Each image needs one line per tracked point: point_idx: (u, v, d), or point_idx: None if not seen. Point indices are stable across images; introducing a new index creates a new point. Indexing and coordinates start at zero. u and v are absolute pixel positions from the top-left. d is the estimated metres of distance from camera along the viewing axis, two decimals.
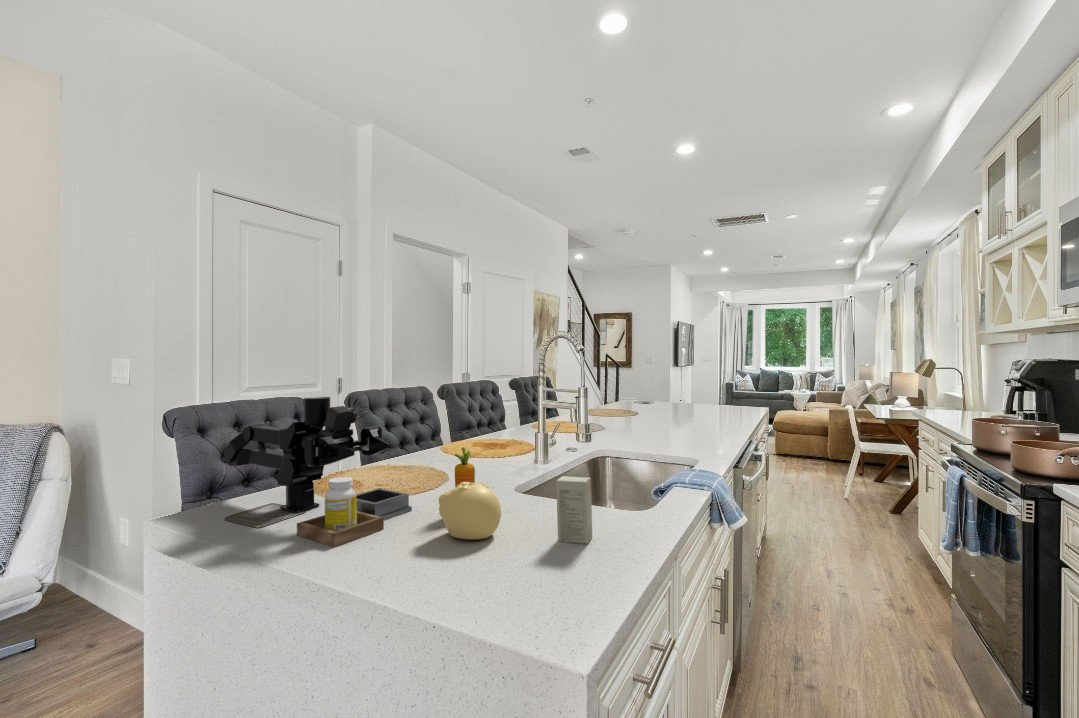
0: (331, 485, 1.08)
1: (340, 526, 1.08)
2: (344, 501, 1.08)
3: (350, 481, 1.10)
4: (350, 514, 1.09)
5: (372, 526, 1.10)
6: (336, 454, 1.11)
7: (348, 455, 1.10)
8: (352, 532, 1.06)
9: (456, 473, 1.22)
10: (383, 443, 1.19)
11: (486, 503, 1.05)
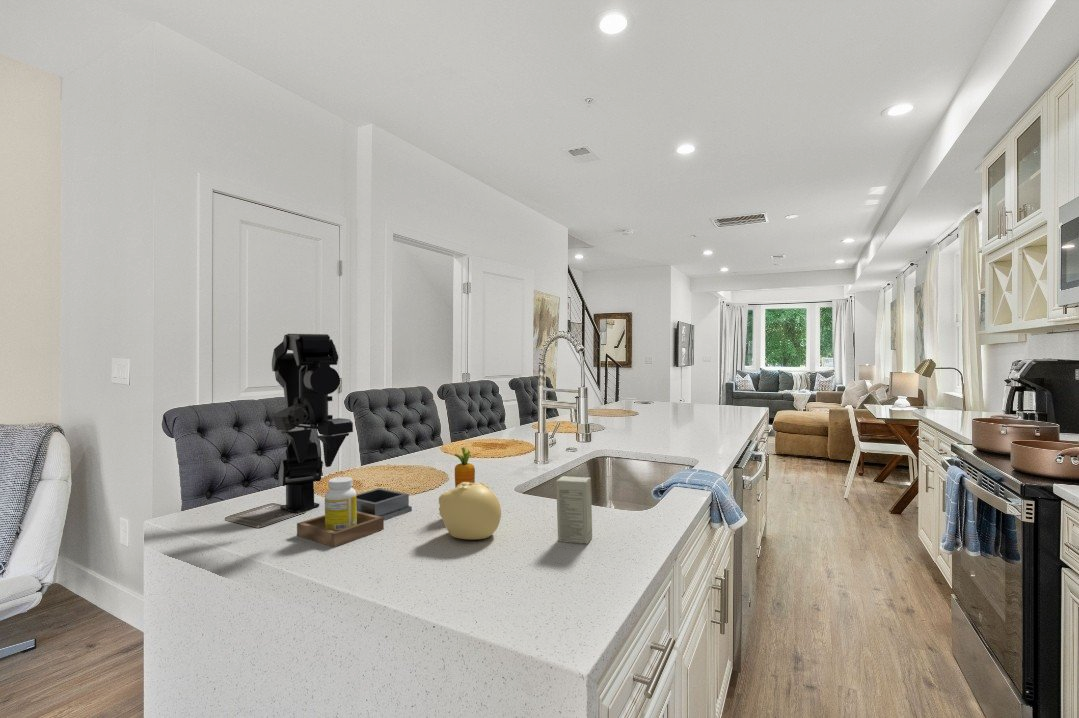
0: (331, 485, 1.08)
1: (340, 526, 1.08)
2: (344, 501, 1.08)
3: (350, 481, 1.10)
4: (350, 514, 1.09)
5: (372, 526, 1.10)
6: None
7: None
8: (352, 532, 1.06)
9: (456, 473, 1.22)
10: None
11: (486, 504, 1.05)
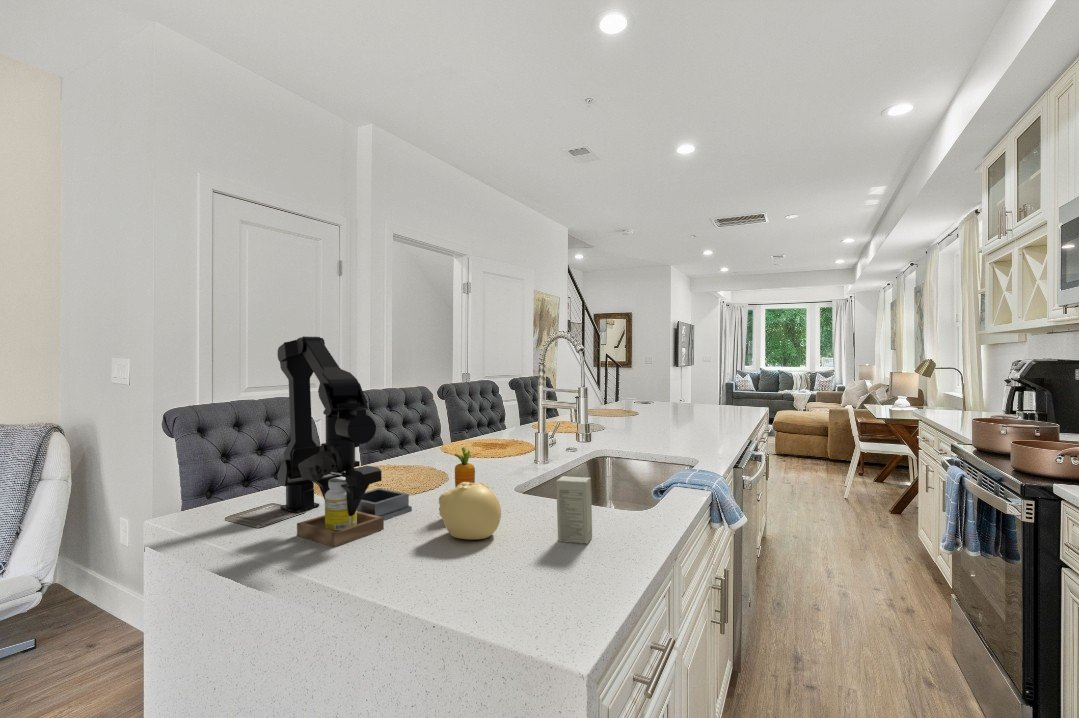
0: (331, 485, 1.08)
1: (340, 526, 1.08)
2: (344, 501, 1.08)
3: None
4: None
5: (372, 526, 1.10)
6: None
7: None
8: (352, 532, 1.06)
9: (456, 473, 1.22)
10: None
11: (486, 504, 1.05)
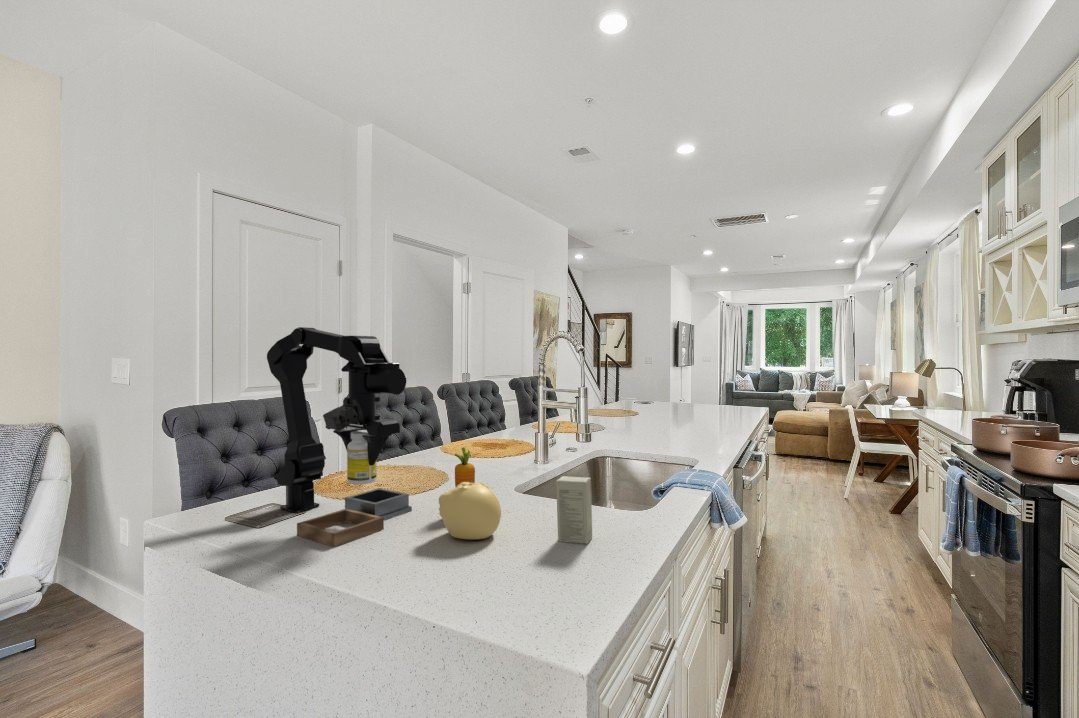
0: (353, 437, 1.16)
1: (361, 475, 1.15)
2: (365, 451, 1.15)
3: None
4: None
5: (372, 526, 1.10)
6: None
7: None
8: (352, 532, 1.06)
9: (456, 473, 1.22)
10: None
11: (486, 504, 1.05)
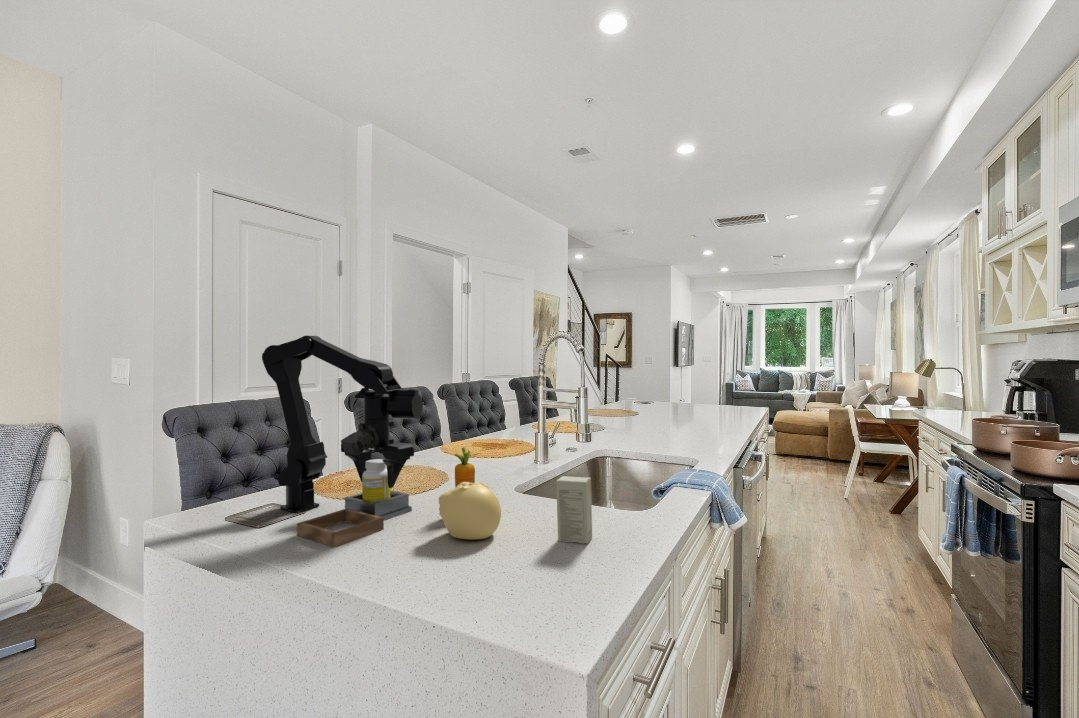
0: (368, 466, 1.22)
1: None
2: (380, 480, 1.21)
3: None
4: (385, 492, 1.22)
5: (372, 526, 1.10)
6: None
7: None
8: (352, 532, 1.06)
9: (456, 473, 1.22)
10: None
11: (486, 504, 1.05)
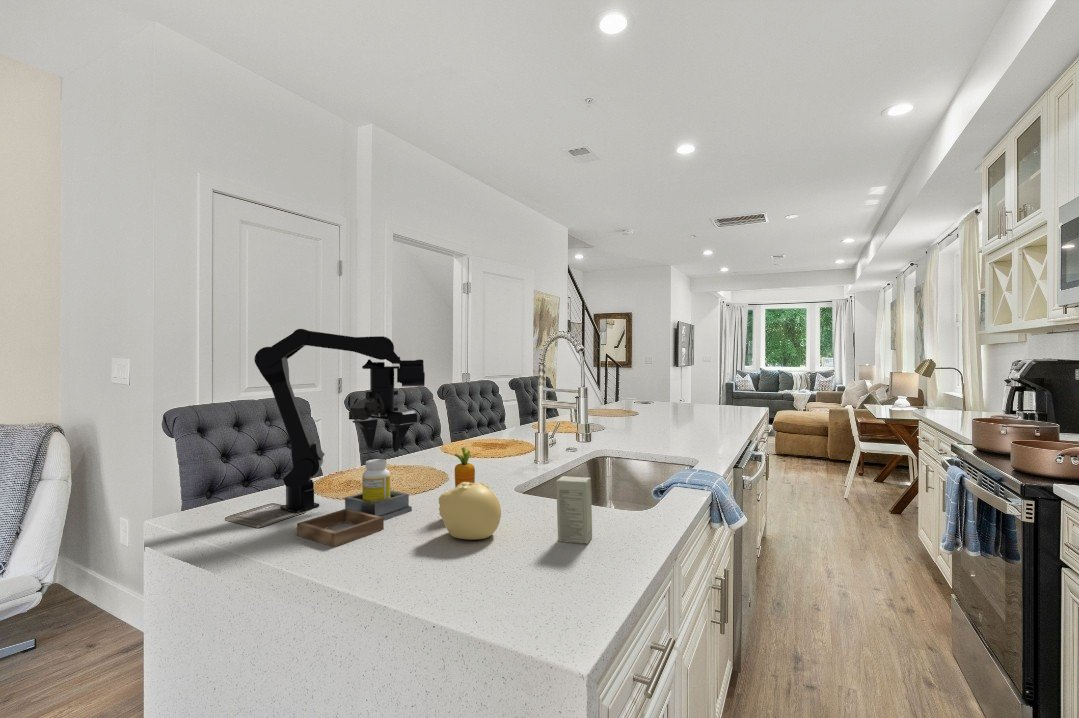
0: (368, 466, 1.22)
1: None
2: (380, 480, 1.21)
3: (385, 462, 1.23)
4: (385, 492, 1.22)
5: (372, 526, 1.10)
6: None
7: None
8: (352, 532, 1.06)
9: (456, 473, 1.22)
10: None
11: (486, 504, 1.05)
